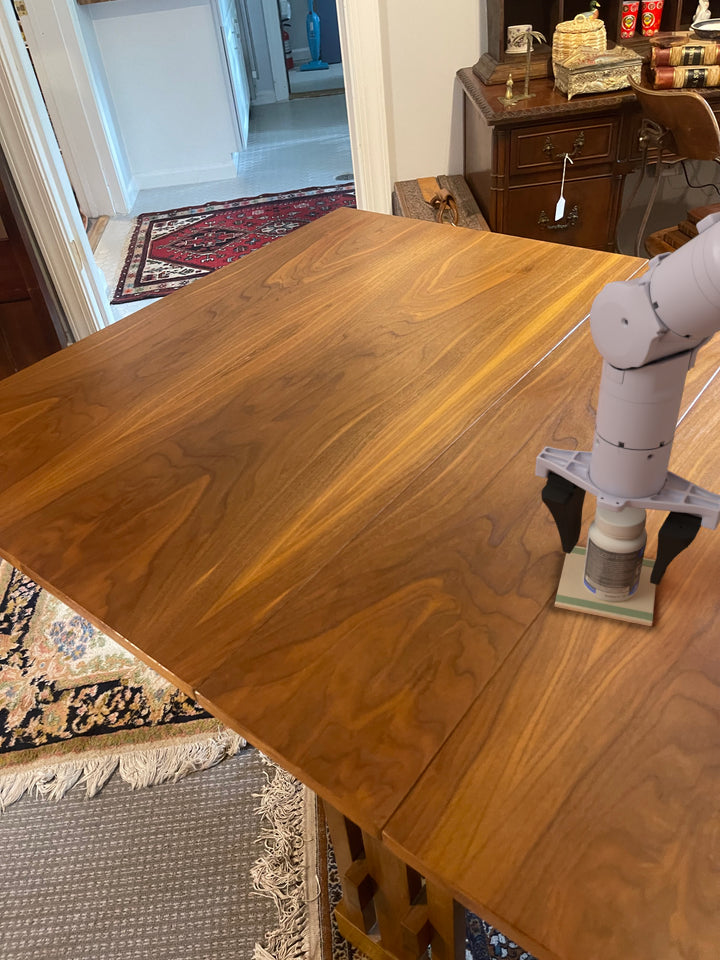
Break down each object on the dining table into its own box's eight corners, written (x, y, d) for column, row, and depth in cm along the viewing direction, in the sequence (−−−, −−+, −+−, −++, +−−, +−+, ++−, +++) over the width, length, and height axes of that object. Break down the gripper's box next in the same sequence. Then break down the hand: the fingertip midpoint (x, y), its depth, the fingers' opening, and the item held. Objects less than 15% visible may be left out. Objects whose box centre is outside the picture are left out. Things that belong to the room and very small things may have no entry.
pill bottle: (643, 602, 63) (659, 528, 58) (587, 603, 63) (598, 530, 58) (630, 564, 67) (643, 491, 62) (577, 566, 67) (586, 493, 62)
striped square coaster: (657, 563, 67) (658, 559, 67) (651, 626, 61) (652, 622, 61) (568, 547, 70) (568, 543, 70) (554, 606, 64) (554, 603, 64)
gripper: (522, 430, 57) (515, 559, 65) (721, 485, 49) (685, 623, 57) (559, 389, 61) (548, 515, 69) (747, 434, 54) (710, 569, 62)
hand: (612, 561), depth 64 cm, fingers open, 7 cm apart
